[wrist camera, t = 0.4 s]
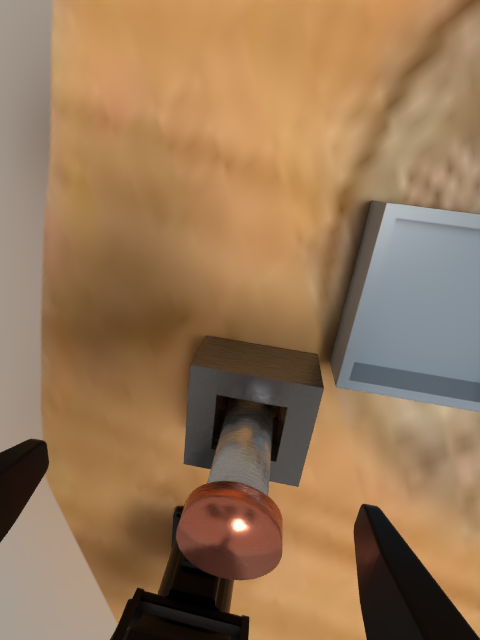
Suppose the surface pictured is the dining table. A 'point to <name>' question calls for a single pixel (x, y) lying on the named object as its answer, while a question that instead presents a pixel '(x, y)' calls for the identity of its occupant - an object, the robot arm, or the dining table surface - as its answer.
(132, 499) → the dining table surface
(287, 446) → the hitch block
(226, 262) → the dining table surface
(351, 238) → the dining table surface
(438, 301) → the tray
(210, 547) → the pin
